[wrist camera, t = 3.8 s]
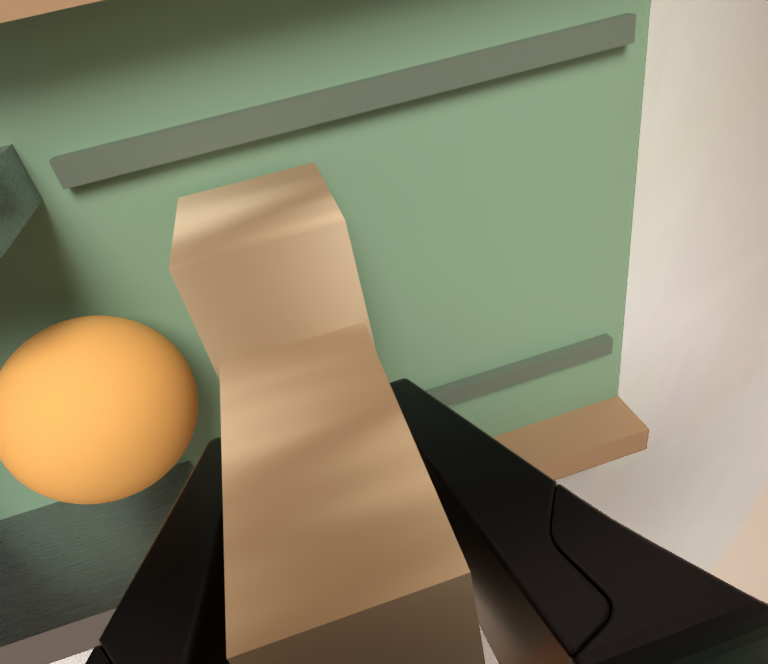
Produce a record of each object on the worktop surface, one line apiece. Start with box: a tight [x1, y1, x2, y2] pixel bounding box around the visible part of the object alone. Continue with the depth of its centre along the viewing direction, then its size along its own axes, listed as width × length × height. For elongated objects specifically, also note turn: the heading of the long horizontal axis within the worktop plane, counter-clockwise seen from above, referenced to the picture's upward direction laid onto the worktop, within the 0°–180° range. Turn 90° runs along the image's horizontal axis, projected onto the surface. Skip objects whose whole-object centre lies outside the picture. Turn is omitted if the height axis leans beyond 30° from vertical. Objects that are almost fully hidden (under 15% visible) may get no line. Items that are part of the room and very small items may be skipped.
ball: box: [0, 315, 198, 504], centre depth 11 cm, size 4×4×4 cm
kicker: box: [169, 162, 485, 664], centre depth 9 cm, size 3×6×8 cm, turn 10°
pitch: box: [0, 0, 651, 520], centre depth 12 cm, size 18×14×2 cm
